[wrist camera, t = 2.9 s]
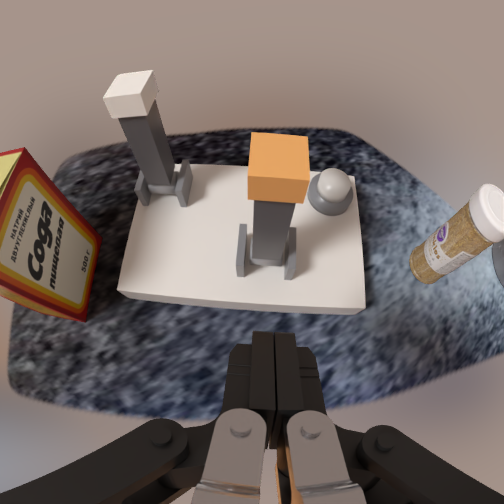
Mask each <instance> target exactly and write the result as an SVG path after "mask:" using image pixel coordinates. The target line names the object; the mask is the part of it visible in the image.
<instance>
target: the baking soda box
mask: <svg viewBox="0 0 504 504" xmlns="http://www.w3.org/2000/svg"><path fill="white" fill-rule="evenodd" d="M101 242H102V237H101V236H100V235H99V234H98V233H97V232H96V231H95V229H94V228H93V227H92V226H91V225H90V224H89V223H88V222H87V221H86V220H85V219H84V218H83V216H82V215H81V214H80V213H79V212H78V211H77V210H76V209H75V208H74V206H73V205H72V204H71V203H70V202H69V201H68V200H67V198H66V197H65V196H64V195H63V194H62V193H61V192H60V190H59V189H58V188H57V187H56V186H55V184H54V183H53V182H52V181H51V180H50V178H49V177H48V176H47V175H46V174H45V172H44V171H43V170H42V169H41V167H40V166H39V165H38V164H37V162H36V161H35V160H34V159H33V157H32V156H31V155H30V153H29V152H28V151H27V149H26V148H25V147H24V148H19V149H15V150H11V151H7V152H2V153H0V296H2V297H4V298H6V299H8V300H10V301H13V302H15V303H17V304H20V305H22V306H24V307H27V308H29V309H32V310H34V311H37V312H39V313H42V314H46V315H51V316H55V317H60V318H65V319H70V320H75V321H80V322H86V316H87V310H88V304H89V298H90V292H91V287H92V282H93V277H94V272H95V268H96V263H97V259H98V254H99V250H100V246H101Z"/></svg>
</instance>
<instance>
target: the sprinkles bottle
mask: <svg viewBox="0 0 504 504" xmlns="http://www.w3.org/2000/svg"><path fill="white" fill-rule="evenodd" d="M503 239H504V193H503V192H502V191H501V190H500V189H499V188H498V187H496V186H494V185H492V184H484V185H482V186H481V187H480V188H479V189H478V190H477V191H476V192H475V193H474V194H473V195H472V196H471V198H470V200H469V202H468V203H467V204H466V205H465V206H464V207H463V208H461V209H460V210H459V211H458V212H457V213H456V214H455V215H454V216H453V217H452V218H451V219H450V220H449V221H447V222H446V223H445V224H443V225H442V226H441V227H440V228H439V229H438V230H436V231H435V232H434V233H433V234H432V235H431V236H429V237H428V239H427V240H426V241H425V242H423V243H422V244H421V245H420V246H417V247H416V248H415V249H414V250H413V251H412V253H411V256H410V260H409V262H410V268H411V271H412V273H413V275H414V276H415V277H416V278H417V279H418V280H419V281H421V282H423V283H425V284H432V283H434V282H436V281H437V280H438V279H439V278H441V277H443V276H444V275H446V274H448V273H450V272H452V271H453V270H455V269H457V268H458V267H460V266H461V265H463V264H464V263H466V262H468V261H469V260H471V259H472V258H474V257H475V256H477V255H478V254H480V253H481V252H482V251H483V250H485V249H486V248H487V247H489V246H491V245H492V244H493V243H497V242H500V241H501V240H503Z"/></svg>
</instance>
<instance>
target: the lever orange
mask: <svg viewBox="0 0 504 504" xmlns="http://www.w3.org/2000/svg"><path fill="white" fill-rule="evenodd" d="M309 183H310V169H309V151H308V137H304V136H294V135H283V134H270V133H254V132H252V136H251V145H250V155H249V166H248V200H254V211H253V238H251V245H250V261H249V265H264V266H279V267H281V266H282V260H283V250H284V246H285V242H286V239H287V235H288V231H289V228H290V224H291V220H292V216H293V213H294V209H295V205H296V203H300V204H303V203H304V199H305V196H306V193H307V189H308V186H309Z"/></svg>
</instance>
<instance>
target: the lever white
mask: <svg viewBox="0 0 504 504" xmlns="http://www.w3.org/2000/svg"><path fill="white" fill-rule="evenodd" d="M157 93H158V87H157V83H156V79H155V75H154V71H153V70H149V71H141V72H134V73H126V74H119V75H118V76H117V77H116V78H115V80H114V81H113V83H112V84H111V86H110V88H109V89H108V91H107V92H106V94H105V96H104V97H103V100H104V102H105V104H106V107H107V109H108V111H109V114H110V116H111V118H112V119H113V118H118V119H119V122H120V124H121V126H122V129H123V131H124V133H125V136H126V138H127V140H128V142H129V145H130V147H131V149H132V151H133V154H134V156H135V158H136V160H137V162H138V165H139V167H140V169H141V171H142V173H143V175H144V177H145V180H146V182H147V184H148V189H149V192H150V193H151V194H176V193H175V188H176V184H177V180H178V176H179V172H178V171H174V169H175V164H174V161H173V157H172V154H171V151H170V148H169V144H168V141H167V138H166V134H165V131H164V128H163V125H162V121H161V118H160V114H159V111H158V108H157V104H156V100H155V98H156V95H157Z"/></svg>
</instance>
